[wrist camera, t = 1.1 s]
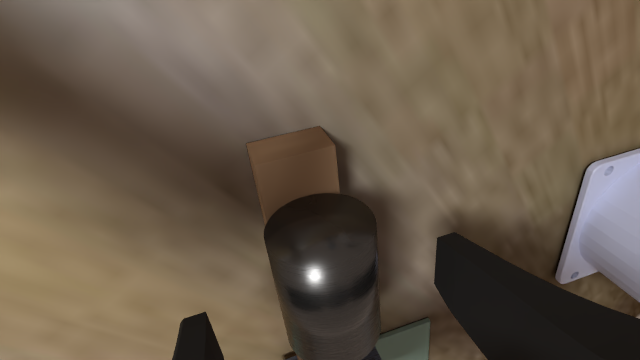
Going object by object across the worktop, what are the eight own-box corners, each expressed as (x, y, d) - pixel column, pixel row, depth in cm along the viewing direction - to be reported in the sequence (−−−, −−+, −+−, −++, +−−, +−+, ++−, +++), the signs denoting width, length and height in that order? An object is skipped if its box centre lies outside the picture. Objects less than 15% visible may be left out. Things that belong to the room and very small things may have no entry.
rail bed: (319, 126, 14) (334, 144, 13) (343, 321, 20) (355, 349, 18) (245, 143, 13) (253, 165, 12) (291, 339, 19) (300, 368, 18)
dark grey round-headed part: (227, 191, 14) (248, 290, 10) (354, 158, 14) (421, 236, 11) (279, 375, 19) (305, 482, 15) (367, 343, 20) (413, 436, 16)
